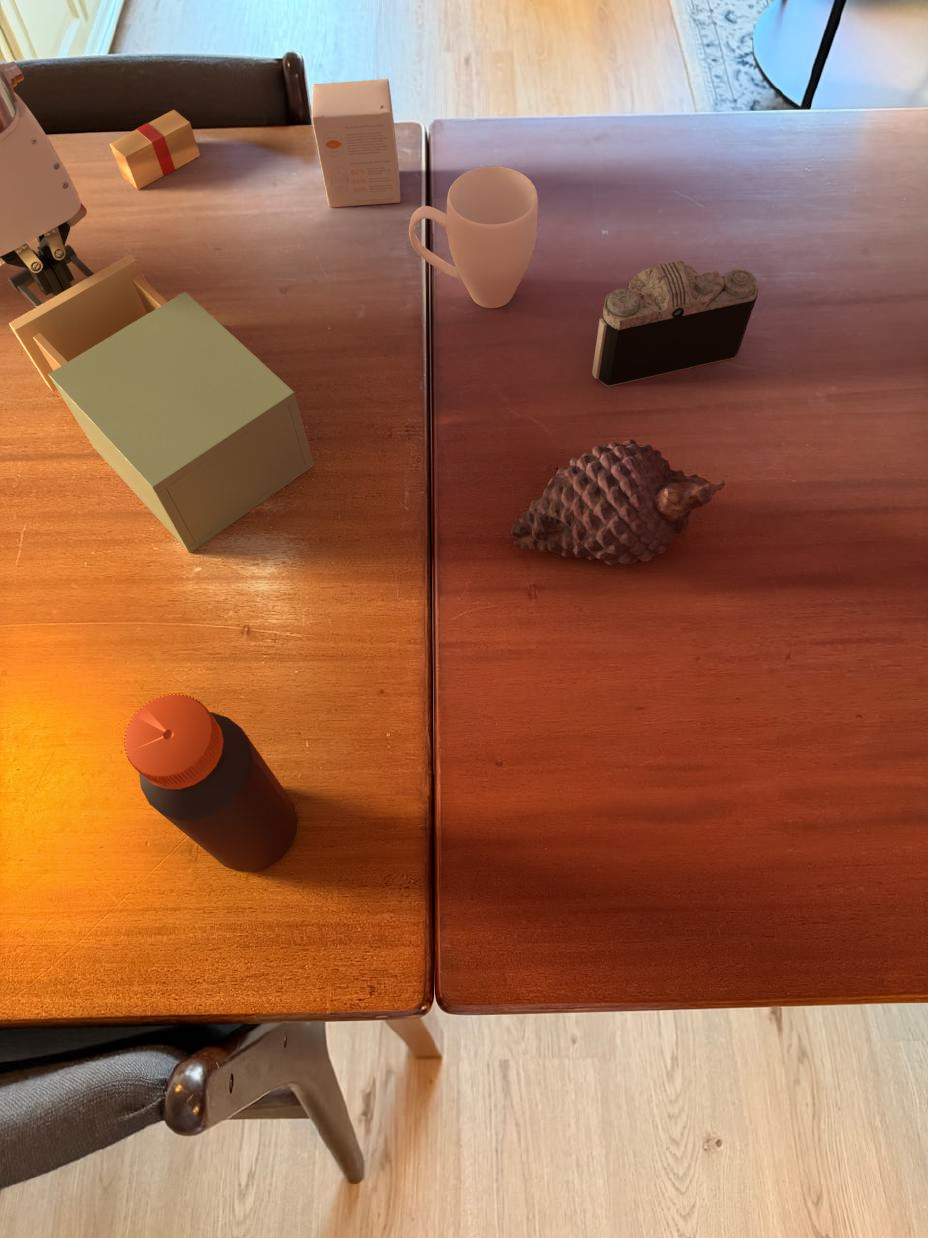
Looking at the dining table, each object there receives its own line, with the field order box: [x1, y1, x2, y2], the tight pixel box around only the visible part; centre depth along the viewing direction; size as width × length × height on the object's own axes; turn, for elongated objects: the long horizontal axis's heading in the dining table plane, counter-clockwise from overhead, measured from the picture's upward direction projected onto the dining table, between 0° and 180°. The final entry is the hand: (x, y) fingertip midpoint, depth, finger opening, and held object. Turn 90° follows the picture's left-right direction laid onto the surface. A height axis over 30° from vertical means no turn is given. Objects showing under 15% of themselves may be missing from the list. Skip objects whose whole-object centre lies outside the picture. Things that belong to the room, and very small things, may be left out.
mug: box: [408, 165, 539, 309], centre depth 87 cm, size 12×8×11 cm
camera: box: [591, 260, 759, 387], centre depth 83 cm, size 15×7×10 cm, turn 105°
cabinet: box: [48, 291, 316, 554], centre depth 79 cm, size 16×14×10 cm
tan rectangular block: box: [109, 109, 201, 191], centre depth 100 cm, size 3×8×4 cm, turn 133°
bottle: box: [123, 693, 299, 873], centre depth 58 cm, size 7×7×20 cm
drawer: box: [7, 244, 168, 393], centre depth 83 cm, size 22×13×8 cm, turn 42°
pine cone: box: [510, 439, 726, 566], centre depth 74 cm, size 18×10×10 cm
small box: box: [311, 78, 401, 208], centre depth 95 cm, size 8×6×10 cm
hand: (61, 291), depth 85 cm, fingers closed
